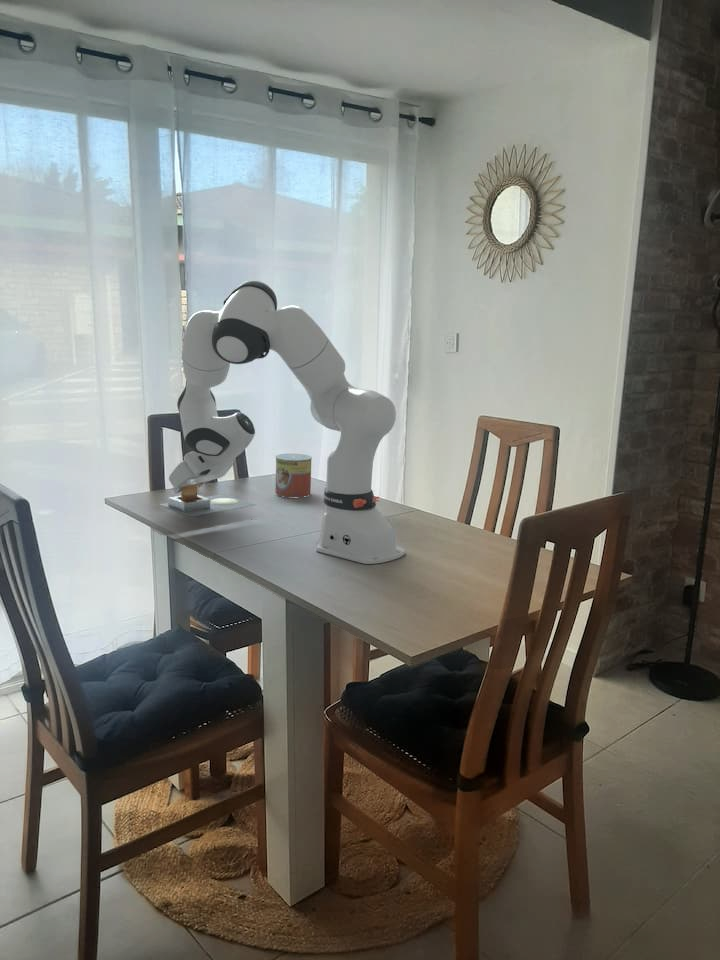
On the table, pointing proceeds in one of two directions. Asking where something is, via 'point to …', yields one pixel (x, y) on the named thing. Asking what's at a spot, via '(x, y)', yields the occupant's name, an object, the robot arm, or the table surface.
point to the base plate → (215, 505)
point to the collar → (189, 503)
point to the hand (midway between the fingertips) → (186, 488)
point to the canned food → (293, 475)
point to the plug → (189, 493)
